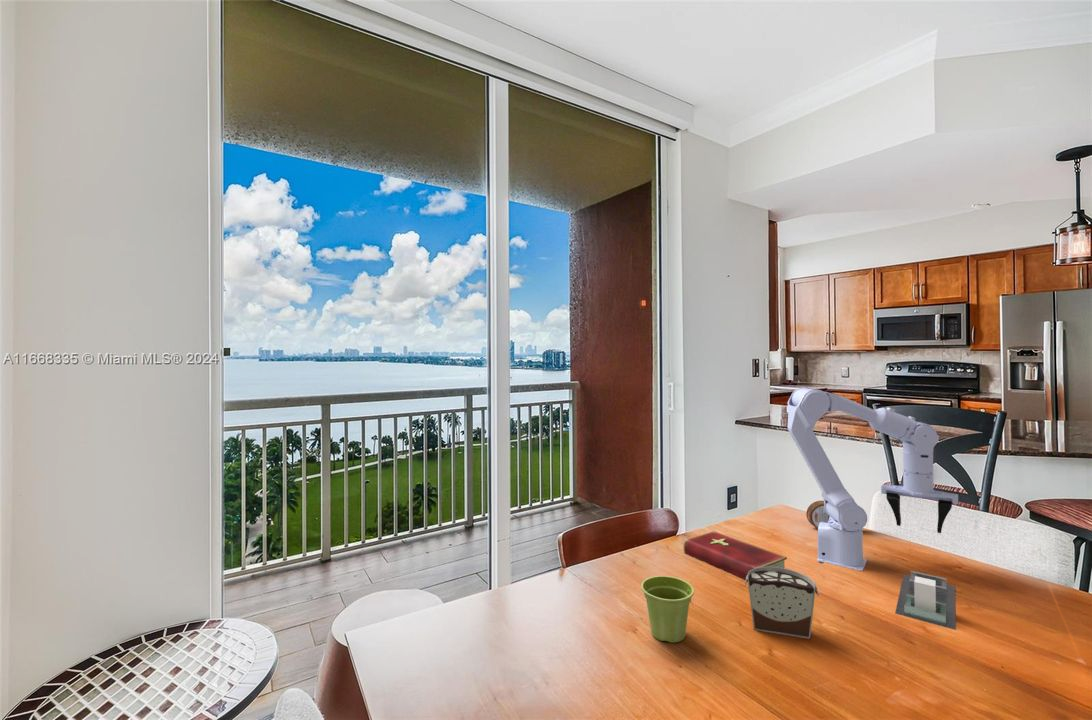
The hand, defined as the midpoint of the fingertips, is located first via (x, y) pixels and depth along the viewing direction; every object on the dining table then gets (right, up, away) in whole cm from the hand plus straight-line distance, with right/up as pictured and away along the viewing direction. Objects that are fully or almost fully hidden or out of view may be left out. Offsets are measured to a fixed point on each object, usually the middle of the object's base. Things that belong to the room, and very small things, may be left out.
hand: (918, 528), depth 114 cm
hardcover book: (-43, -11, +4) cm, 45 cm away
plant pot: (-67, -10, -27) cm, 73 cm away
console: (-11, -10, -16) cm, 21 cm away
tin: (-5, -10, +25) cm, 27 cm away
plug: (-15, -9, -21) cm, 27 cm away
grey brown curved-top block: (-46, -10, -24) cm, 53 cm away
